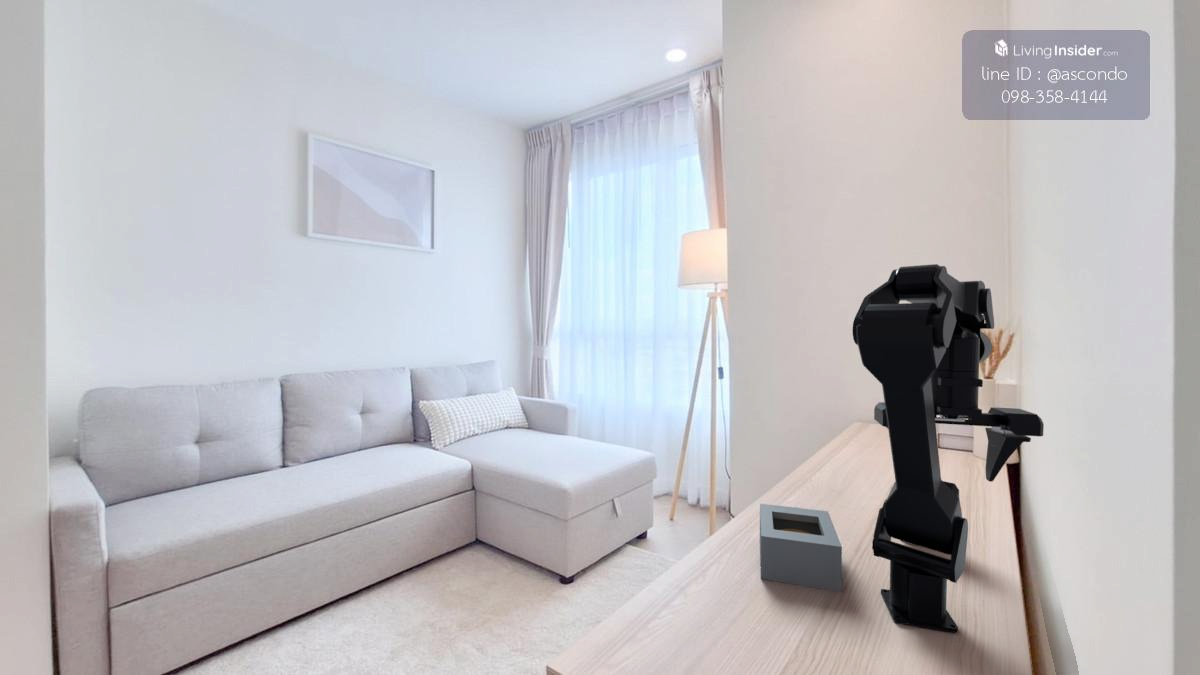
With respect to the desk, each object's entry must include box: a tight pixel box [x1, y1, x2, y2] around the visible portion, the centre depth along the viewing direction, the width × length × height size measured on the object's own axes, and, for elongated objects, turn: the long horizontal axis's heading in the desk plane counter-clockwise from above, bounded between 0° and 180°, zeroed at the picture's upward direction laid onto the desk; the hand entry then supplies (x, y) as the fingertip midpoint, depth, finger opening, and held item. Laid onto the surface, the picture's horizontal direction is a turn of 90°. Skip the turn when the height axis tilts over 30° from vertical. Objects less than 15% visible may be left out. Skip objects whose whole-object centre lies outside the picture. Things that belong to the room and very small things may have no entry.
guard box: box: [759, 503, 843, 593], centre depth 68 cm, size 12×10×6 cm
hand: (950, 477), depth 67 cm, fingers open, 9 cm apart
